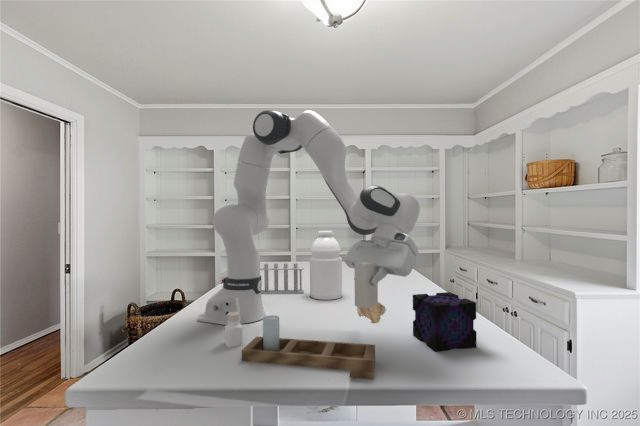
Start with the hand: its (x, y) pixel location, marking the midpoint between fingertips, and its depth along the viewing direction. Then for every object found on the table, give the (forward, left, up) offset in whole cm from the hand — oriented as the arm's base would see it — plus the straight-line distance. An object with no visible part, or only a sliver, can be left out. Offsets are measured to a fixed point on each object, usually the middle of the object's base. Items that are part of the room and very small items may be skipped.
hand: (364, 282), depth 88 cm
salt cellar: (-22, -9, -16) cm, 29 cm away
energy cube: (+21, +12, -18) cm, 30 cm away
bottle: (-21, +56, -18) cm, 62 cm away
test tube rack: (-45, +59, -18) cm, 76 cm away
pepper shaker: (-34, -4, -18) cm, 39 cm away
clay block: (0, +1, -6) cm, 6 cm away
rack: (-12, -9, -18) cm, 24 cm away
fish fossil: (-1, +36, -19) cm, 40 cm away
